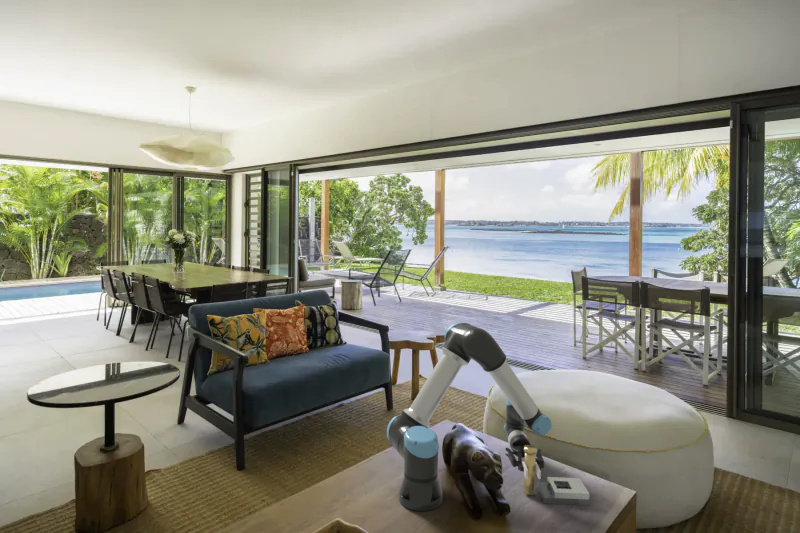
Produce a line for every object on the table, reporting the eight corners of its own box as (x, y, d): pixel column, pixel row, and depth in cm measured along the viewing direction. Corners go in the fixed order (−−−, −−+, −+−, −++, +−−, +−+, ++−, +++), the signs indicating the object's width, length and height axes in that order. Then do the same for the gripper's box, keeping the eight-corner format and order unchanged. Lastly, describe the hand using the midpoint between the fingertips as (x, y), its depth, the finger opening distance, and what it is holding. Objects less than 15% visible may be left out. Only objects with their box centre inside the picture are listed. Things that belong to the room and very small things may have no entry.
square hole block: (544, 503, 157) (544, 491, 157) (537, 487, 167) (537, 476, 167) (589, 505, 156) (589, 493, 156) (579, 488, 166) (579, 478, 166)
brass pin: (523, 495, 160) (525, 450, 159) (521, 488, 164) (522, 444, 163) (536, 495, 160) (538, 450, 159) (533, 488, 164) (535, 445, 163)
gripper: (540, 454, 179) (557, 486, 156) (497, 452, 180) (508, 484, 157) (541, 435, 179) (558, 465, 155) (498, 433, 180) (508, 463, 156)
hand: (533, 474), depth 156 cm, fingers closed on brass pin, 3 cm apart
